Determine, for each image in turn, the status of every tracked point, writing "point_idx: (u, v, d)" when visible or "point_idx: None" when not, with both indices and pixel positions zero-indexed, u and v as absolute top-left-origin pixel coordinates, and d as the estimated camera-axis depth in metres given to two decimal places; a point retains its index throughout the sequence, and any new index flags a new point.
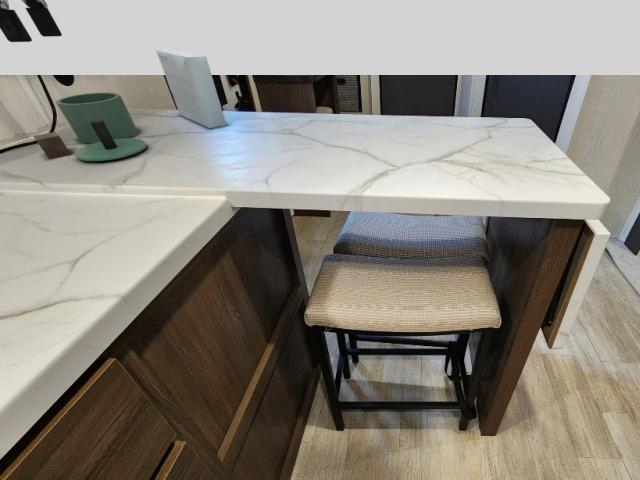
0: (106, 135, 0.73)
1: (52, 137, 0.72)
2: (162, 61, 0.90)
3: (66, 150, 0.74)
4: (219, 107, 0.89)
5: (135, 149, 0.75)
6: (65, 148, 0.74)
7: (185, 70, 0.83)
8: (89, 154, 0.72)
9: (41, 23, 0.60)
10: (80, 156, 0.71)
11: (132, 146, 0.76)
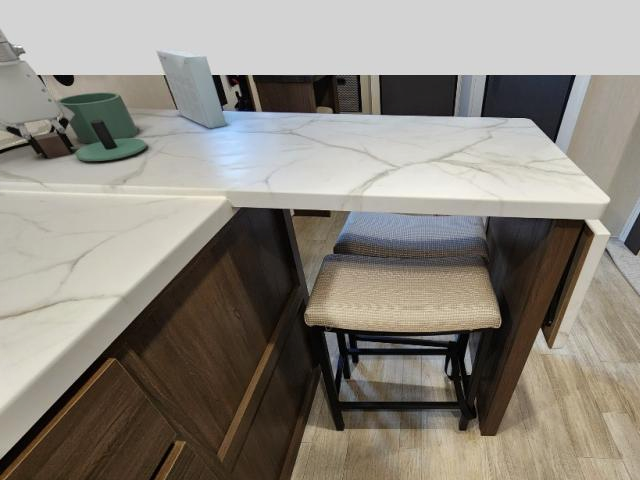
0: (106, 135, 0.73)
1: (52, 137, 0.72)
2: (162, 61, 0.90)
3: (66, 150, 0.74)
4: (219, 107, 0.89)
5: (135, 149, 0.75)
6: (65, 148, 0.74)
7: (185, 70, 0.83)
8: (89, 154, 0.72)
9: None
10: (80, 156, 0.71)
11: (132, 146, 0.76)
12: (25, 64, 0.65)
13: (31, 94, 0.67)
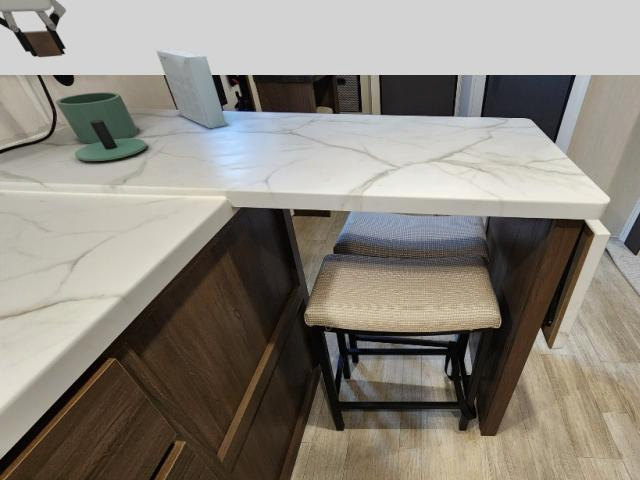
0: (106, 135, 0.73)
1: (41, 32, 0.68)
2: (162, 61, 0.90)
3: (57, 50, 0.70)
4: (219, 107, 0.89)
5: (135, 149, 0.75)
6: (56, 47, 0.70)
7: (185, 70, 0.83)
8: (89, 154, 0.72)
9: None
10: (80, 156, 0.71)
11: (132, 146, 0.76)
12: None
13: None
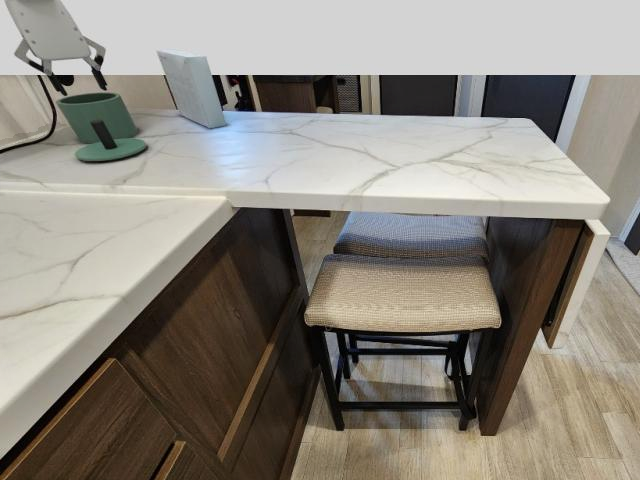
0: (106, 135, 0.73)
1: None
2: (162, 61, 0.90)
3: None
4: (219, 107, 0.89)
5: (135, 149, 0.75)
6: None
7: (185, 70, 0.83)
8: (89, 154, 0.72)
9: (97, 80, 0.79)
10: (80, 156, 0.71)
11: (132, 146, 0.76)
12: (60, 2, 0.69)
13: (64, 32, 0.71)
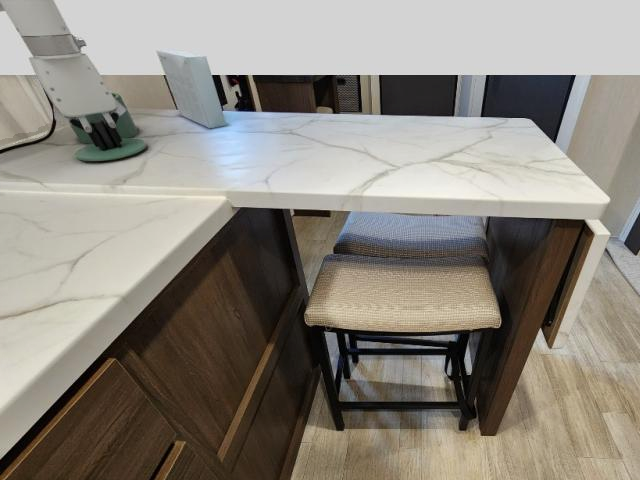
0: (106, 135, 0.73)
1: None
2: (162, 61, 0.90)
3: None
4: (219, 107, 0.89)
5: (135, 149, 0.75)
6: None
7: (185, 70, 0.83)
8: (89, 154, 0.72)
9: None
10: (80, 156, 0.71)
11: (132, 146, 0.76)
12: (86, 57, 0.65)
13: (90, 87, 0.67)
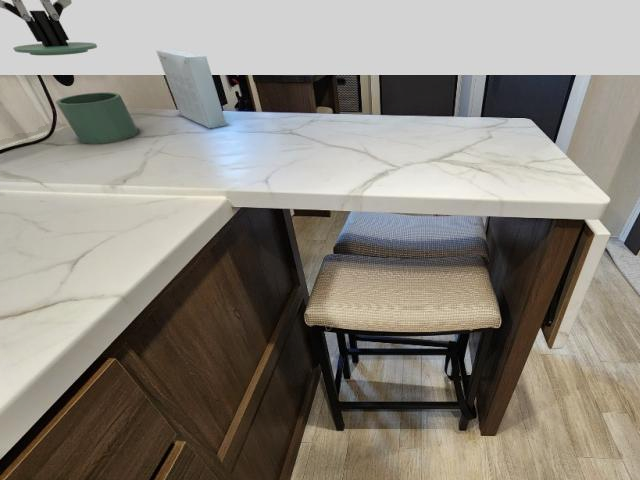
0: (49, 28, 0.66)
1: None
2: (162, 61, 0.90)
3: None
4: (219, 107, 0.89)
5: (82, 46, 0.68)
6: None
7: (185, 70, 0.83)
8: (29, 48, 0.65)
9: None
10: (18, 48, 0.64)
11: (80, 45, 0.69)
12: None
13: None
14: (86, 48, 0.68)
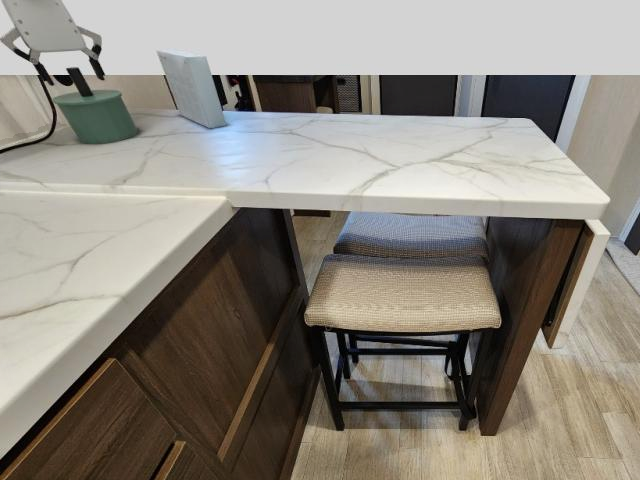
0: (82, 82, 0.77)
1: None
2: (162, 61, 0.90)
3: None
4: (219, 107, 0.89)
5: (110, 96, 0.78)
6: None
7: (185, 70, 0.83)
8: (65, 99, 0.76)
9: (94, 70, 0.78)
10: (56, 101, 0.75)
11: (108, 94, 0.80)
12: None
13: (59, 23, 0.70)
14: (114, 98, 0.79)
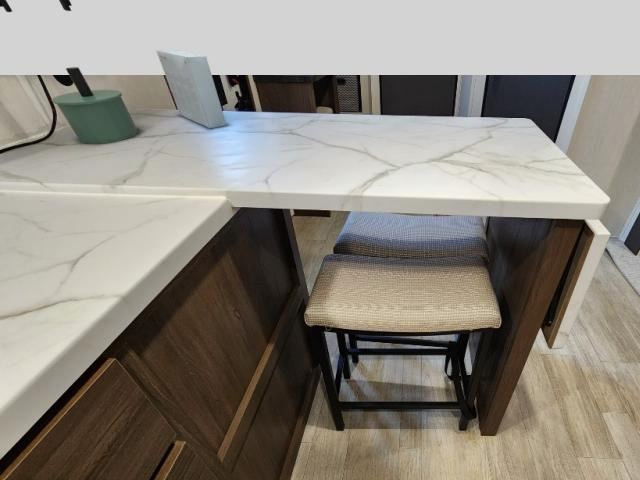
0: (82, 82, 0.77)
1: None
2: (162, 61, 0.90)
3: None
4: (219, 107, 0.89)
5: (110, 96, 0.78)
6: None
7: (185, 70, 0.83)
8: (65, 99, 0.76)
9: None
10: (56, 101, 0.75)
11: (108, 94, 0.80)
12: None
13: None
14: (114, 98, 0.79)
